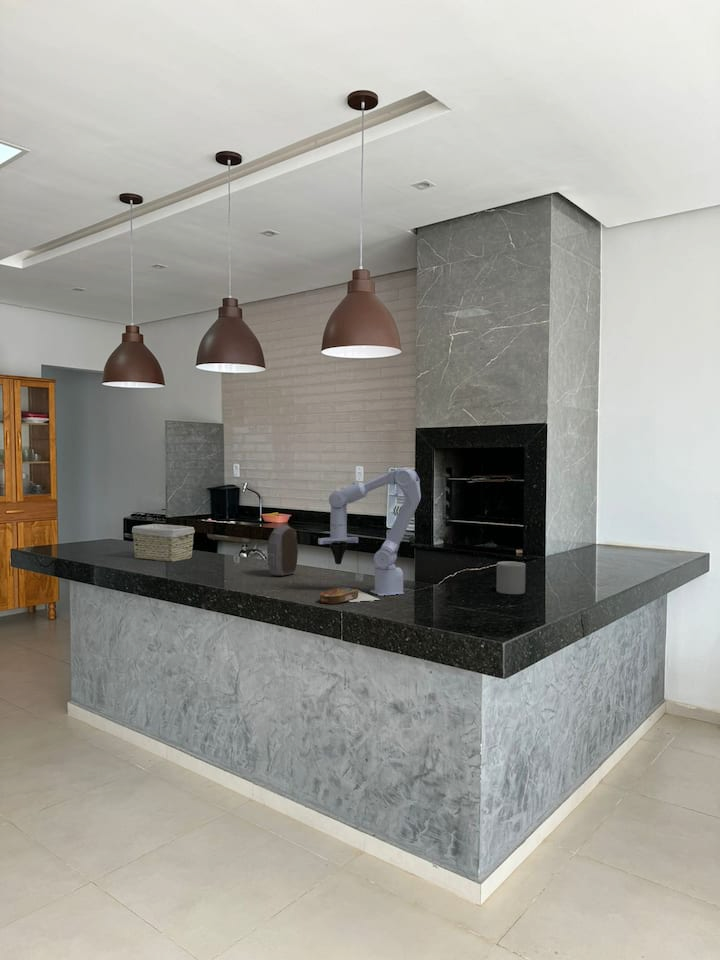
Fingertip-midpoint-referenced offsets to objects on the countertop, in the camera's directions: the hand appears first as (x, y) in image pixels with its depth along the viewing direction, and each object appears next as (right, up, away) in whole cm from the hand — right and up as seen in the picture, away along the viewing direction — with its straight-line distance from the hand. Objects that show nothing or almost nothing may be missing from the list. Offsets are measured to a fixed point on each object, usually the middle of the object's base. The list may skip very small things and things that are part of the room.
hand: (338, 563), depth 248 cm
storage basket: (-81, -6, +71) cm, 108 cm away
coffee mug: (+62, -10, +4) cm, 63 cm away
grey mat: (+5, -10, -9) cm, 14 cm away
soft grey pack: (-24, -8, +31) cm, 40 cm away
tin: (-2, -9, -14) cm, 16 cm away
